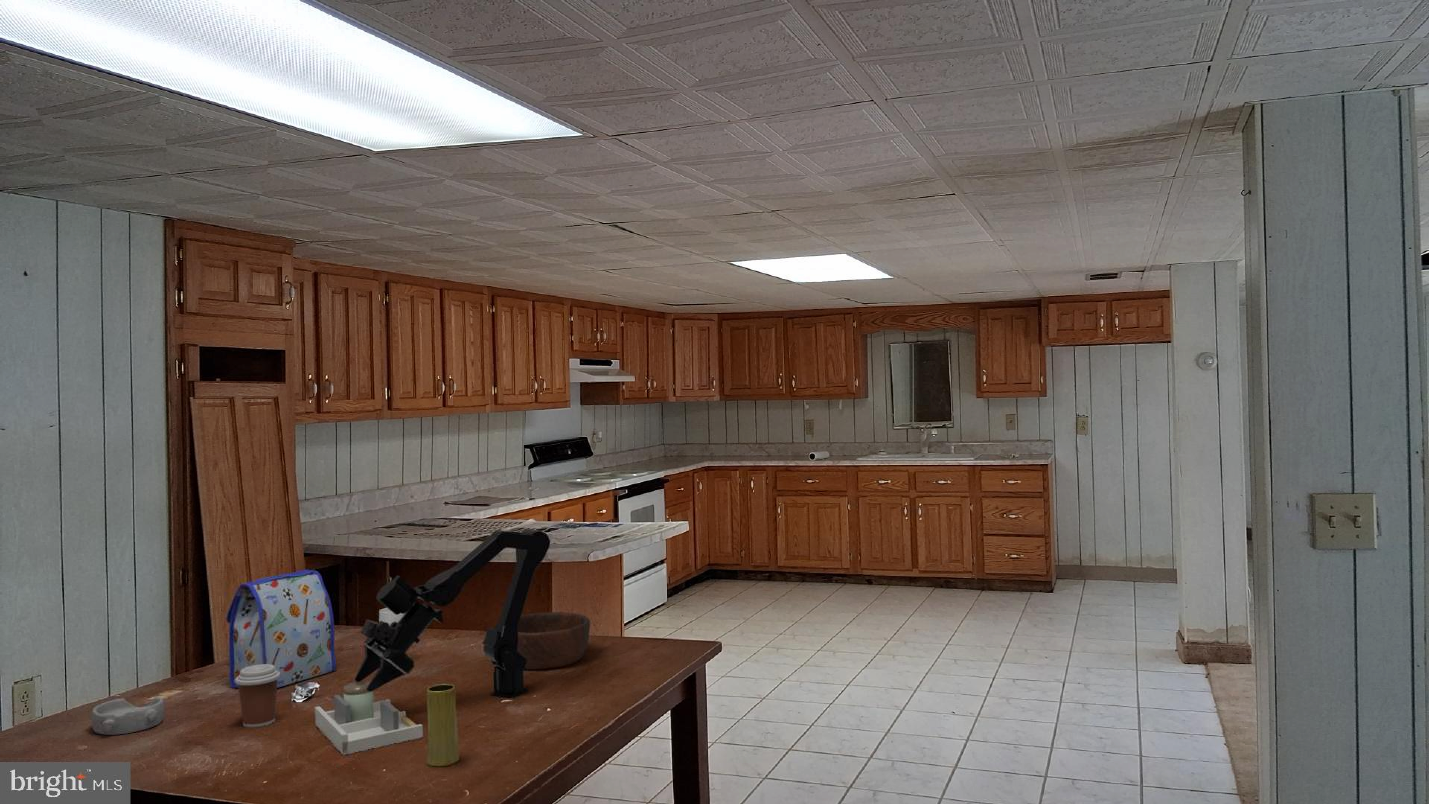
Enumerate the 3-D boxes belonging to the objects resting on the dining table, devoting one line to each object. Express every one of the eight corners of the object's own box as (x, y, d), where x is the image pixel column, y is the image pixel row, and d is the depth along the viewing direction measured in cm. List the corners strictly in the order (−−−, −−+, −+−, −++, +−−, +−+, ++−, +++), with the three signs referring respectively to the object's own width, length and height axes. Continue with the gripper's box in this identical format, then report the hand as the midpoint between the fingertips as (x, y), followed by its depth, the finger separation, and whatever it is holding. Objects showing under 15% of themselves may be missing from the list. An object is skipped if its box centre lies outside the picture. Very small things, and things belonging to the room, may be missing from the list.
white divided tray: (389, 710, 221) (388, 683, 221) (422, 737, 202) (421, 708, 202) (315, 725, 211) (314, 697, 211) (343, 755, 193) (342, 724, 193)
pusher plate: (339, 719, 213) (338, 694, 213) (350, 730, 205) (349, 704, 205) (334, 720, 212) (333, 695, 212) (345, 731, 205) (345, 705, 205)
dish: (97, 722, 219) (97, 700, 219) (168, 712, 224) (167, 691, 224) (85, 742, 205) (84, 719, 205) (160, 732, 211) (159, 709, 211)
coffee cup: (291, 717, 218) (289, 664, 217) (259, 731, 209) (257, 675, 209) (258, 714, 220) (257, 661, 220) (226, 727, 212) (224, 672, 212)
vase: (430, 756, 191) (428, 683, 191) (462, 754, 191) (459, 682, 191) (423, 768, 185) (421, 693, 185) (456, 766, 185) (454, 691, 185)
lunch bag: (297, 664, 263) (294, 565, 263) (341, 670, 255) (338, 569, 255) (221, 688, 242) (217, 581, 242) (266, 695, 235) (263, 585, 235)
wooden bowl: (545, 644, 277) (543, 608, 277) (610, 655, 262) (609, 617, 262) (476, 665, 257) (475, 626, 257) (543, 679, 242) (541, 637, 242)
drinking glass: (399, 669, 254) (397, 612, 254) (375, 668, 256) (373, 612, 256) (412, 662, 261) (410, 606, 261) (389, 661, 262) (387, 606, 262)
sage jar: (377, 717, 214) (376, 681, 214) (368, 726, 208) (367, 689, 208) (350, 718, 214) (349, 681, 214) (340, 727, 208) (339, 690, 208)
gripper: (371, 599, 222) (323, 656, 216) (396, 612, 207) (345, 674, 200) (407, 627, 227) (360, 684, 220) (434, 642, 211) (385, 704, 205)
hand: (362, 685), depth 211 cm, fingers open, 9 cm apart
